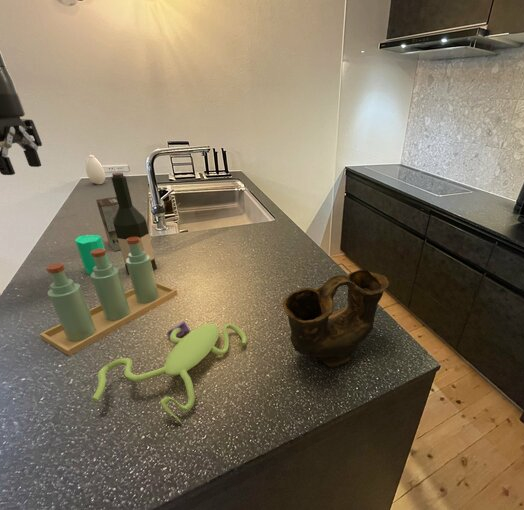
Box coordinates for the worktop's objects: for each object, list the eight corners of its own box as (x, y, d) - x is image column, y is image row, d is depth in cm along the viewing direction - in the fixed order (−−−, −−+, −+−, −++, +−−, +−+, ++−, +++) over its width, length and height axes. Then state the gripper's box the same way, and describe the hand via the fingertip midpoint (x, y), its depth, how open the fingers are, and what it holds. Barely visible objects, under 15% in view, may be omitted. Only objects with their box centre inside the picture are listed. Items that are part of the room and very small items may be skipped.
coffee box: (135, 246, 108) (124, 203, 101) (113, 251, 104) (100, 206, 97) (128, 238, 114) (117, 196, 107) (107, 242, 110) (94, 199, 103)
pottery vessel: (360, 319, 82) (369, 253, 73) (388, 343, 74) (402, 274, 65) (275, 356, 68) (272, 281, 59) (299, 391, 60) (301, 311, 51)
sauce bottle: (107, 185, 169) (97, 151, 161) (89, 186, 166) (79, 151, 157) (108, 181, 175) (99, 149, 167) (91, 182, 171) (81, 149, 163)
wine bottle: (147, 261, 100) (125, 168, 86) (163, 269, 97) (142, 174, 83) (120, 271, 94) (91, 173, 80) (135, 280, 90) (108, 179, 76)
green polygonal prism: (81, 271, 92) (67, 235, 86) (100, 263, 97) (89, 228, 92) (96, 276, 91) (83, 239, 85) (115, 266, 96) (104, 231, 90)
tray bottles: (113, 323, 73) (92, 258, 65) (100, 316, 75) (77, 252, 67) (163, 296, 84) (150, 237, 76) (150, 290, 85) (135, 232, 77)
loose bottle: (62, 343, 66) (31, 273, 58) (71, 328, 70) (44, 261, 62) (91, 339, 68) (65, 270, 60) (99, 324, 72) (75, 258, 64)
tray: (70, 357, 63) (67, 350, 63) (42, 340, 67) (39, 333, 66) (177, 295, 85) (176, 289, 84) (152, 285, 89) (151, 279, 88)
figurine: (82, 407, 54) (72, 385, 52) (190, 318, 77) (186, 300, 75) (168, 442, 50) (162, 420, 47) (254, 336, 73) (253, 318, 70)
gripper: (-3, 89, 68) (25, 163, 76) (-65, 88, 56) (-24, 177, 63) (36, 92, 70) (60, 164, 77) (-16, 92, 57) (19, 178, 65)
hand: (22, 170), depth 70 cm, fingers open, 8 cm apart
